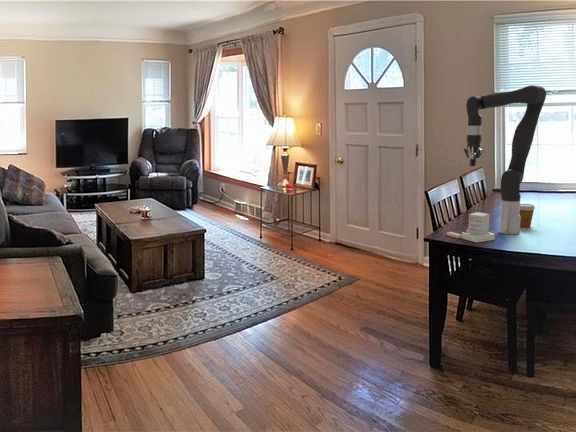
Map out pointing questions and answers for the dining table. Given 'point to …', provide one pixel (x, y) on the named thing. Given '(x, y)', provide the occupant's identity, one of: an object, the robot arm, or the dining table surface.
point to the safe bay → (478, 237)
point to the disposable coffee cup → (526, 215)
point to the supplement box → (478, 224)
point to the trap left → (454, 234)
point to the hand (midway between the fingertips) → (472, 166)
